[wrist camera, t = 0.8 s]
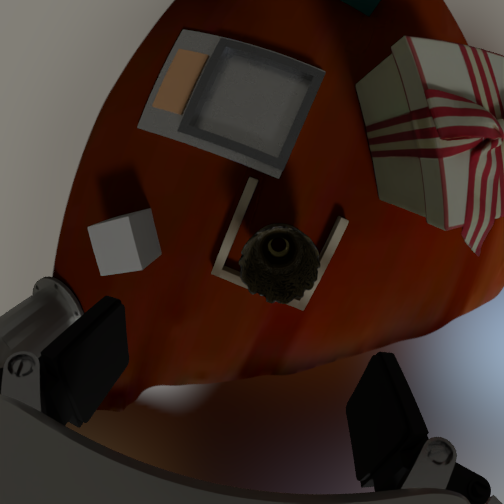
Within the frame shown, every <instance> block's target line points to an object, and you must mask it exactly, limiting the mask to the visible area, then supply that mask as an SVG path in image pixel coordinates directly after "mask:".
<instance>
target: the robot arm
mask: <svg viewBox="0 0 504 504" xmlns="http://www.w3.org/2000/svg"><path fill="white" fill-rule="evenodd" d="M128 362H129V354H128V344H127V333H126V321H125V307H124V305H123V304H122V303H121V301H120V300H119V299H116V298H113V297H110V296H105V297H104V298H102V299H101V300H100V301H99V302H98V303H96V304H95V305H94V306H93V307H92V308H90V309H89V310H88V311H87V312H86V313H83V310H82V308H81V305H80V304H79V302H78V300H77V298H76V297H75V295H74V294H73V292H72V291H71V290H70V289H69V288H68V287H67V286H66V285H65V284H64V283H63V282H61V281H60V280H58V279H56V278H54V277H44V278H42V279H40V280H39V281H37V282H36V284H35V286H34V288H33V295H32V296H30V297H29V298H27V299H26V300H24V301H23V302H21V303H20V304H18V305H17V306H15V307H14V308H12V309H11V310H9V311H8V312H6V313H5V314H4V315H2V316H1V317H0V504H502V503H501V502H500V501H499V500H498V499H497V498H496V497H495V496H494V495H493V496H491V497H490V494H491V488H490V485H489V483H488V481H487V480H486V479H485V478H483V477H482V476H480V475H478V474H476V473H475V472H472V471H471V470H469V469H467V468H465V467H463V466H462V465H460V464H458V463H456V457H457V454H456V450H455V448H454V446H453V445H452V444H451V443H450V442H449V441H448V440H446V439H444V438H442V437H433V438H430V439H428V437H427V434H428V433H429V432H428V430H427V427H426V425H425V422H424V420H423V417H422V415H421V413H420V410H419V408H418V406H417V403H416V401H415V399H414V397H413V394H412V392H411V390H410V387H409V385H408V383H407V381H406V379H405V377H404V374H403V372H402V370H401V368H400V366H399V364H398V362H397V360H396V358H395V355H394V354H393V353H386V352H378V353H377V354H376V355H373V356H372V358H371V360H370V362H369V363H368V366H367V368H366V370H365V371H364V374H363V375H362V377H361V379H360V381H359V383H358V385H357V387H356V388H355V390H354V392H353V394H352V396H351V397H350V399H349V401H348V403H347V406H346V415H347V420H348V426H349V432H350V438H351V444H352V450H353V457H354V464H355V471H356V477H357V480H359V481H360V482H361V487H373V486H374V489H375V492H370V493H356V494H355V493H354V494H315V495H314V494H291V493H278V492H268V491H259V490H251V489H245V488H238V487H233V486H227V485H222V484H216V483H212V482H207V481H204V480H199V479H195V478H192V477H188V476H184V475H181V474H177V473H173V472H170V471H167V470H164V469H161V468H158V467H155V466H152V465H149V464H147V463H144V462H141V461H138V460H136V459H133V458H131V457H128V456H126V455H123V454H121V453H119V452H116V451H114V450H112V449H109V448H107V447H105V446H103V445H101V444H99V443H96V442H95V441H93V440H91V439H89V438H87V437H85V436H83V435H81V434H79V433H77V432H75V431H73V430H71V429H69V428H68V427H66V426H65V425H66V423H67V422H70V423H72V424H73V425H75V426H77V427H81V425H82V423H83V422H84V423H87V422H88V421H89V419H90V418H91V416H92V415H93V414H94V412H95V411H96V409H97V408H98V406H99V405H100V404H101V402H102V401H103V399H104V398H105V396H106V395H107V394H108V392H109V391H110V389H111V388H112V386H113V385H114V384H115V382H116V381H117V379H118V378H119V377H120V375H121V374H122V372H123V371H124V370H125V368H126V367H127V365H128Z"/></svg>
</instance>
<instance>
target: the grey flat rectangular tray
mask: <svg viewBox="0 0 504 504" xmlns="http://www.w3.org/2000/svg"><path fill="white" fill-rule="evenodd" d="M324 75H325V71H323V70H321V69H319V68H316V67H314V66H311V65H309V64H307V63H304V62H301V61H299V60H296V59H294V58H291V57H288V56H285V55H283V54H280V53H277V52H274V51H271V50H268V49H265V48H261V47H258V46H255V45H251V44H248V43H244V42H241V41H237V40H233V39H229V38H225V37H220V36H216V35H211V34H206V33H201V32H196V31H190V30H184V29H183V30H182V32H181V34H180V36H179V37H178V39H177V41H176V43H175V45H174V47H173V48H172V50H171V52H170V54H169V56H168V58H167V60H166V62H165V64H164V66H163V68H162V70H161V72H160V74H159V77H158V79H157V81H156V83H155V85H154V88H153V90H152V92H151V94H150V97H149V99H148V101H147V104H146V106H145V109H144V111H143V114H142V116H141V119H140V121H139V124H138V127H137V128H139V129H143V130H146V131H149V132H152V133H156V134H159V135H162V136H165V137H168V138H171V139H174V140H177V141H180V142H183V143H186V144H189V145H192V146H195V147H198V148H200V149H203V150H206V151H209V152H212V153H214V154H217V155H220V156H222V157H225V158H228V159H230V160H233V161H235V162H238V163H241V164H243V165H246V166H248V167H251V168H253V169H256V170H258V171H261V172H263V173H265V174H268V175H270V176H273V177H275V178H277V179H279V178H280V175H281V173H282V171H283V170H284V168H285V165H286V163H287V161H288V158H289V156H290V154H291V151H292V149H293V147H294V145H295V142H296V140H297V138H298V135H299V133H300V131H301V128H302V126H303V124H304V121H305V119H306V117H307V114H308V112H309V110H310V107H311V105H312V103H313V101H314V98H315V96H316V94H317V91H318V89H319V87H320V84H321V82H322V80H323V77H324Z"/></svg>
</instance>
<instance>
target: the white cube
mask: <svg viewBox="0 0 504 504" xmlns="http://www.w3.org/2000/svg"><path fill="white" fill-rule="evenodd" d="M87 228H88V232H89V236H90V239H91V243H92V247H93V250H94V254H95V257H96V261H97V264H98V267H99V270H100V274H101V276H105V275H112V274H118V273H125V272H132V271H138V270H143V269H144V268H145V267H147V266H148V265H149V264H150V263H151V262H153V261H154V260H155V259H156V258H158V257H159V256H160V255H161V254H162V253H161V249H160V245H159V241H158V237H157V233H156V229H155V224H154V220H153V216H152V211H151V208H149V209H145V210H141V211H137V212H133V213H129V214H125V215H121V216H117V217H114V218H111V219H108V220H105V221H102V222H100V223H97V224H94V225H92V226H89V227H87Z"/></svg>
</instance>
